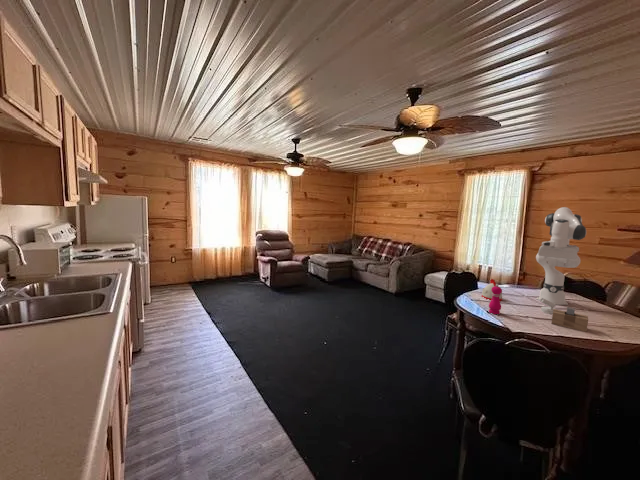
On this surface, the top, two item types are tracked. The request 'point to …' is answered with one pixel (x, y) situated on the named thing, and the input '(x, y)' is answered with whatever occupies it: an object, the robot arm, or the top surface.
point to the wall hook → (547, 309)
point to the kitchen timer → (489, 291)
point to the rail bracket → (570, 311)
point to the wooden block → (570, 320)
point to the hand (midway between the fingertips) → (555, 264)
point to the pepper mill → (495, 300)
